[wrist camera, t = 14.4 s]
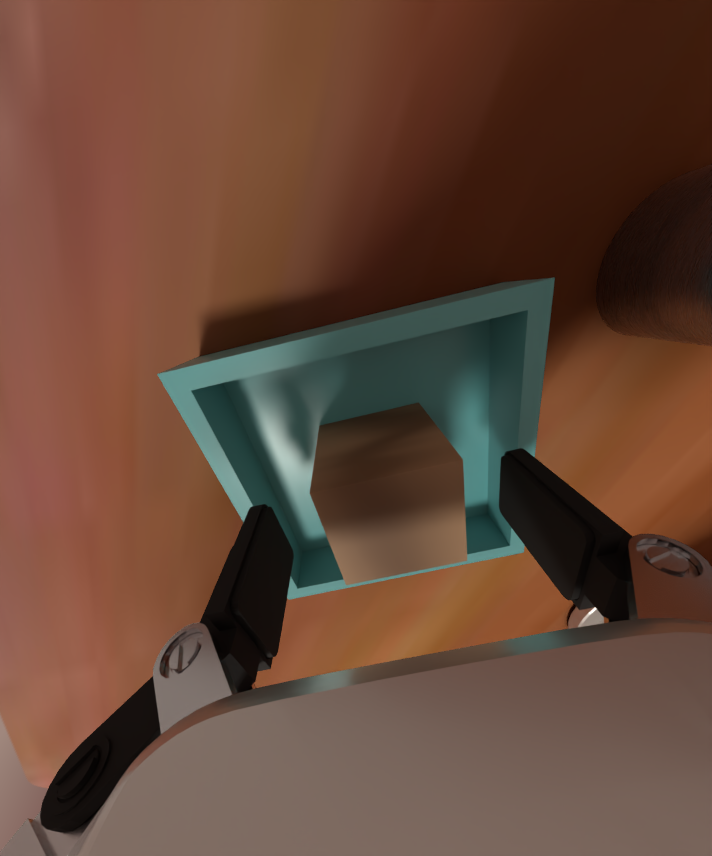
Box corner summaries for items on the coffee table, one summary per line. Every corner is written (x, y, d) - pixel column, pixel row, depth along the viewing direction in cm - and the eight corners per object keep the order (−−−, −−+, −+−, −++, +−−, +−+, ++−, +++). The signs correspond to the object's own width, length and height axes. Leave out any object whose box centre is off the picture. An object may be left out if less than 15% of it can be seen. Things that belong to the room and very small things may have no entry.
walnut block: (418, 402, 13) (463, 459, 8) (428, 481, 15) (467, 560, 10) (319, 425, 13) (309, 493, 8) (343, 500, 15) (346, 585, 11)
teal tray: (502, 282, 11) (554, 277, 8) (494, 512, 17) (523, 552, 14) (198, 356, 12) (157, 374, 9) (296, 553, 18) (288, 599, 15)
